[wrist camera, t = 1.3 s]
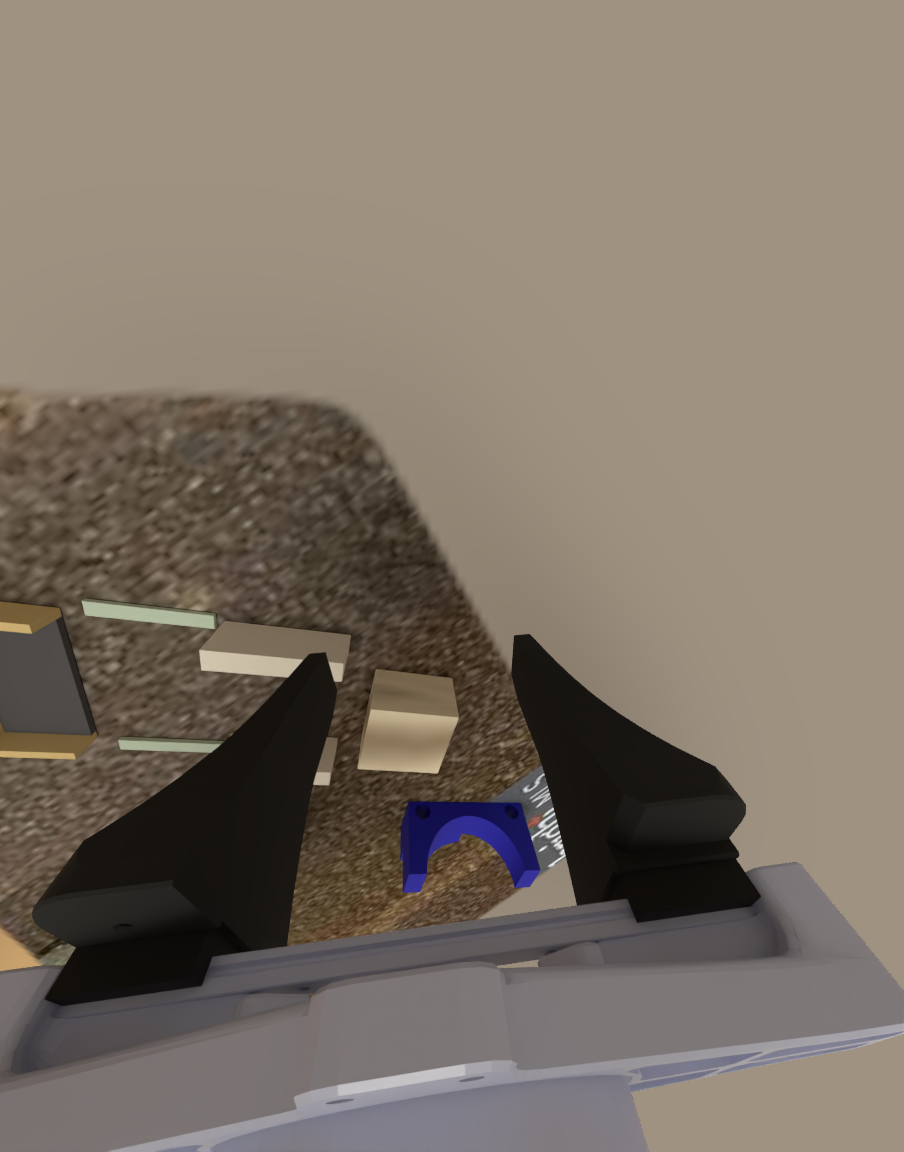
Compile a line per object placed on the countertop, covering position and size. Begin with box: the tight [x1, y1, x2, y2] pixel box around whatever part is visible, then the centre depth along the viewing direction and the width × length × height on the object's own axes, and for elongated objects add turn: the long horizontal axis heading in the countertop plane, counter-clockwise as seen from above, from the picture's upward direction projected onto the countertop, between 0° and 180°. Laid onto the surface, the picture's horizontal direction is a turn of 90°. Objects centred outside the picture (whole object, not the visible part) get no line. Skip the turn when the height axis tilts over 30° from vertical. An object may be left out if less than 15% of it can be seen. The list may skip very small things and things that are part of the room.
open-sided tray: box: [0, 601, 98, 759], centre depth 21 cm, size 11×6×2 cm, turn 167°
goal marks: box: [82, 599, 224, 753], centre depth 23 cm, size 13×7×1 cm, turn 167°
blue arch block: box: [400, 802, 540, 893], centre depth 32 cm, size 12×4×6 cm, turn 76°
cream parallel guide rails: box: [199, 621, 351, 785], centre depth 23 cm, size 12×8×3 cm, turn 167°
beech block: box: [357, 669, 459, 773], centre depth 25 cm, size 6×6×4 cm
